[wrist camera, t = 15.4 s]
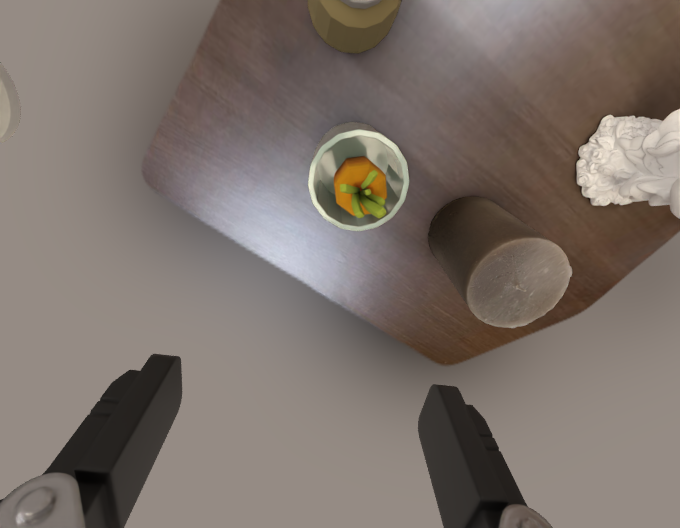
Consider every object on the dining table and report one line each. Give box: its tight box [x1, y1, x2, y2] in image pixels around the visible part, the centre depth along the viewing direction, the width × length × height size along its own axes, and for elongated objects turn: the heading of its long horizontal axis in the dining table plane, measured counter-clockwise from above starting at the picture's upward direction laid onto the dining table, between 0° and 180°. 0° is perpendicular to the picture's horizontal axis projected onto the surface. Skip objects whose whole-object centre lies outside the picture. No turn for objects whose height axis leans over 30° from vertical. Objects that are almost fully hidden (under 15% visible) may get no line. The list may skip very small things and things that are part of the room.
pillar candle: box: [428, 196, 572, 328], centre depth 37 cm, size 10×10×15 cm
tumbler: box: [308, 122, 409, 231], centre depth 35 cm, size 9×9×10 cm
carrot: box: [334, 156, 387, 218], centre depth 33 cm, size 5×5×15 cm
